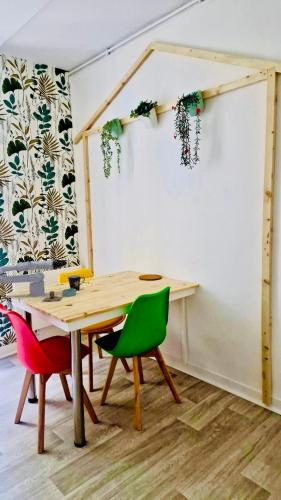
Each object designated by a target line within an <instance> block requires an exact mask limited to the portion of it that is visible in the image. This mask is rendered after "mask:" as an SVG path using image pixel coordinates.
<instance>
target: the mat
mask: <svg viewBox="0 0 281 500" xmlns="http://www.w3.org/2000/svg"><path fill="white" fill-rule="evenodd" d="M59 297H60V300H58V301H54V303H56V302H62V300H63V299H64V296H59ZM41 303H47V302H46V301H44V299H43V300H41Z"/></svg>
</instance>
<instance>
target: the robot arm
mask: <svg viewBox="0 0 281 500" xmlns="http://www.w3.org/2000/svg"><path fill="white" fill-rule="evenodd" d="M66 265H68V261H66V260H60V259H58V258H57V259H56V260H54V258H51V259H49V260H40V261H39V260H38V261H36V260H31V261H25V262H22V261H19V262H18V263H17V264H16V265H2V266H0V284H5V285H6V284H18V283H29V297H30V298H34V297H37V298H39V297H45V296H46V295H47V292H45V290H46V289H45V281H44V279H45V274H44V273H43V272H42V271H39V270H56V269H59V268H62V267H65V266H66ZM34 270H38V272H34V273H31V274H21V275H20V274H19V275H6V272H10V271H12V272H13V271H17V272H28V271H31V272H33V271H34Z"/></svg>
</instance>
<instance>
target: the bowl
mask: <svg viewBox="0 0 281 500" xmlns="http://www.w3.org/2000/svg"><path fill="white" fill-rule="evenodd" d="M76 295H77V291H76V289H70V288H66V289H62V290H61V297H63V298H69V297H75V296H76Z"/></svg>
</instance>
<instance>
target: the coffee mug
mask: <svg viewBox="0 0 281 500" xmlns="http://www.w3.org/2000/svg"><path fill="white" fill-rule="evenodd" d="M67 278H68V284H69V289H76V292H79V291H80V287H81V285H83V284H84V282H85V277H84V276H81V275H78V274H77V275H75V274H74V275H69V276H68V277H67ZM82 278H83V280H82V282H81V279H82Z"/></svg>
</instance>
